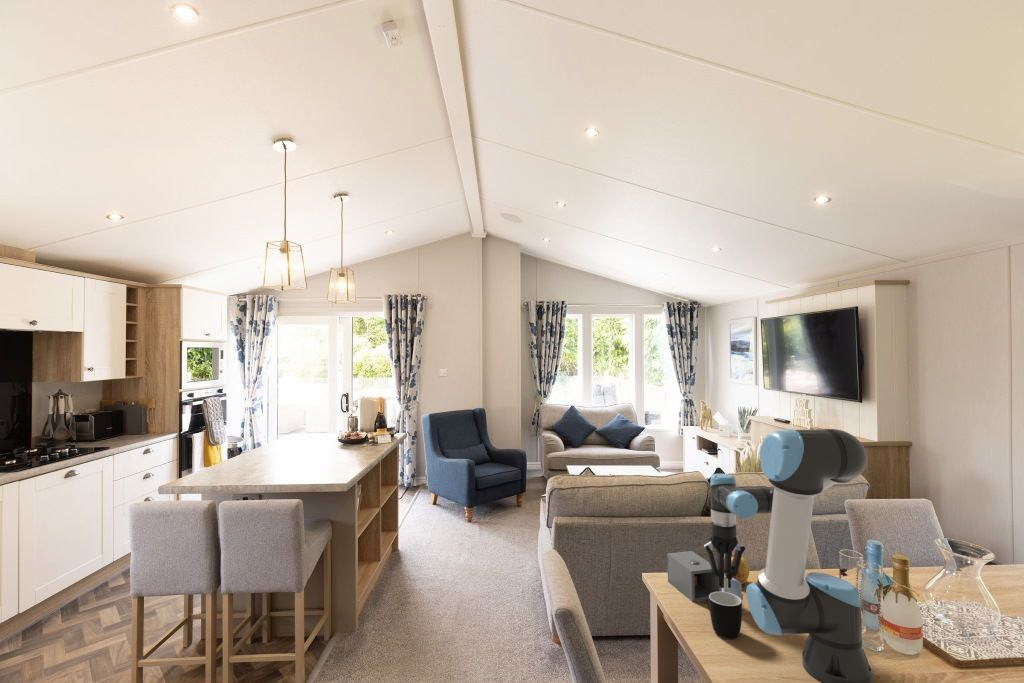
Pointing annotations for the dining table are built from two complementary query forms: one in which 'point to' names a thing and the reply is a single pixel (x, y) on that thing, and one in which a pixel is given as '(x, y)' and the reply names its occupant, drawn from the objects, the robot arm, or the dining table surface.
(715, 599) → the mug
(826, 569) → the dining table surface
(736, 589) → the door
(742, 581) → the apple
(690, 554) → the case
